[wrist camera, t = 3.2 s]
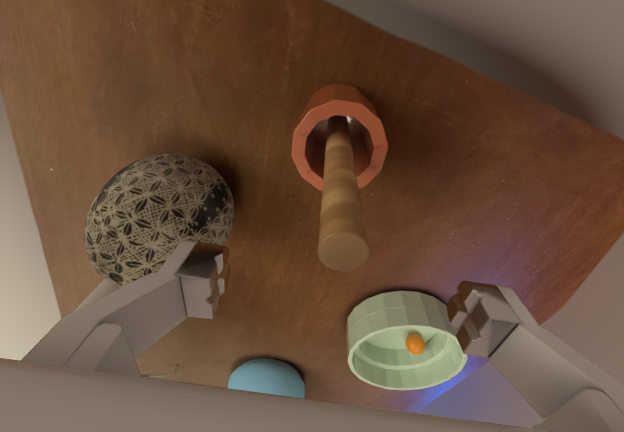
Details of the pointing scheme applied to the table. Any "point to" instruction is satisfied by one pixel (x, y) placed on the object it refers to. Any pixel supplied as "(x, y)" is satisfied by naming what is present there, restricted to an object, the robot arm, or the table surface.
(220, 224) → the decorative egg
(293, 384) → the sugar bowl
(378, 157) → the utensil pot
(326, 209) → the stirring stick
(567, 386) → the robot arm
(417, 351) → the bead
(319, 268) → the table surface
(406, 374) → the bowl
